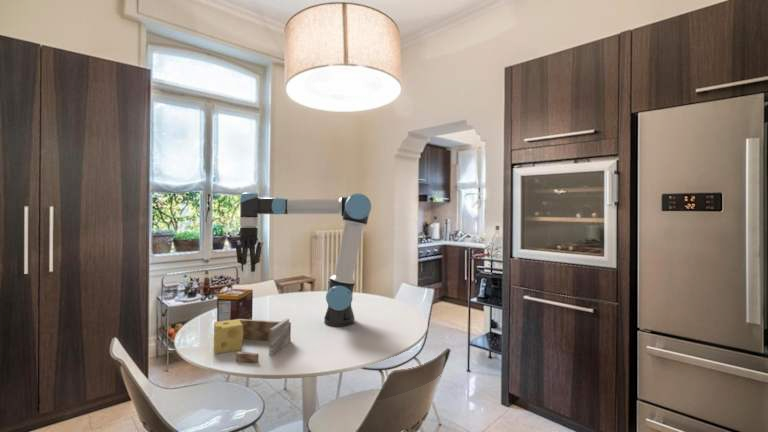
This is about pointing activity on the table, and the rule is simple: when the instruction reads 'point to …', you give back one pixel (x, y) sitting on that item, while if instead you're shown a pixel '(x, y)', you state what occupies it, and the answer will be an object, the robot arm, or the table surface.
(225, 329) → the cheese
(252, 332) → the shelf
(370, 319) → the table surface
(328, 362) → the table surface
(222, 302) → the supplement box
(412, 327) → the table surface
